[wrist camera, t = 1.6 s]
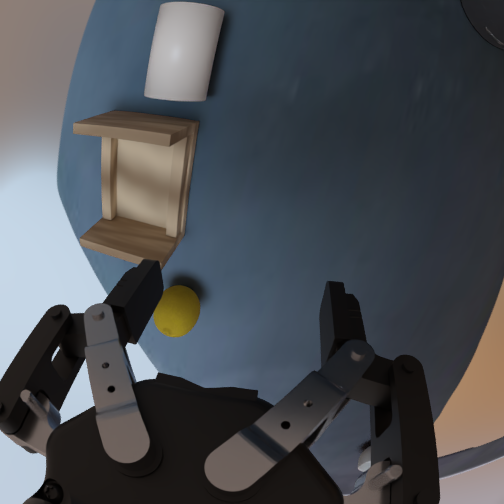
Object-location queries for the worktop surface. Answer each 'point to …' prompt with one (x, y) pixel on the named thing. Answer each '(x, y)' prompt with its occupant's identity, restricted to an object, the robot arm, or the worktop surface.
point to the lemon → (177, 311)
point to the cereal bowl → (365, 460)
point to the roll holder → (141, 183)
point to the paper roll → (183, 51)
